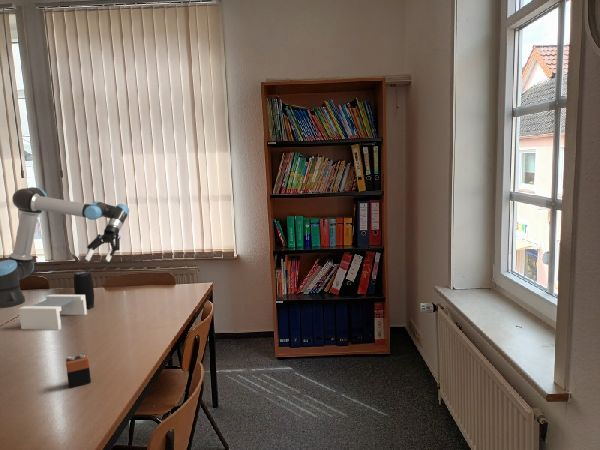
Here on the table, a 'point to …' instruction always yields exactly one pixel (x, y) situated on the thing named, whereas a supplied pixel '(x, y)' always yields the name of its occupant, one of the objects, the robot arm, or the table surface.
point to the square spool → (51, 311)
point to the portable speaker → (84, 286)
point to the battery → (78, 370)
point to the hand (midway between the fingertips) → (96, 260)
